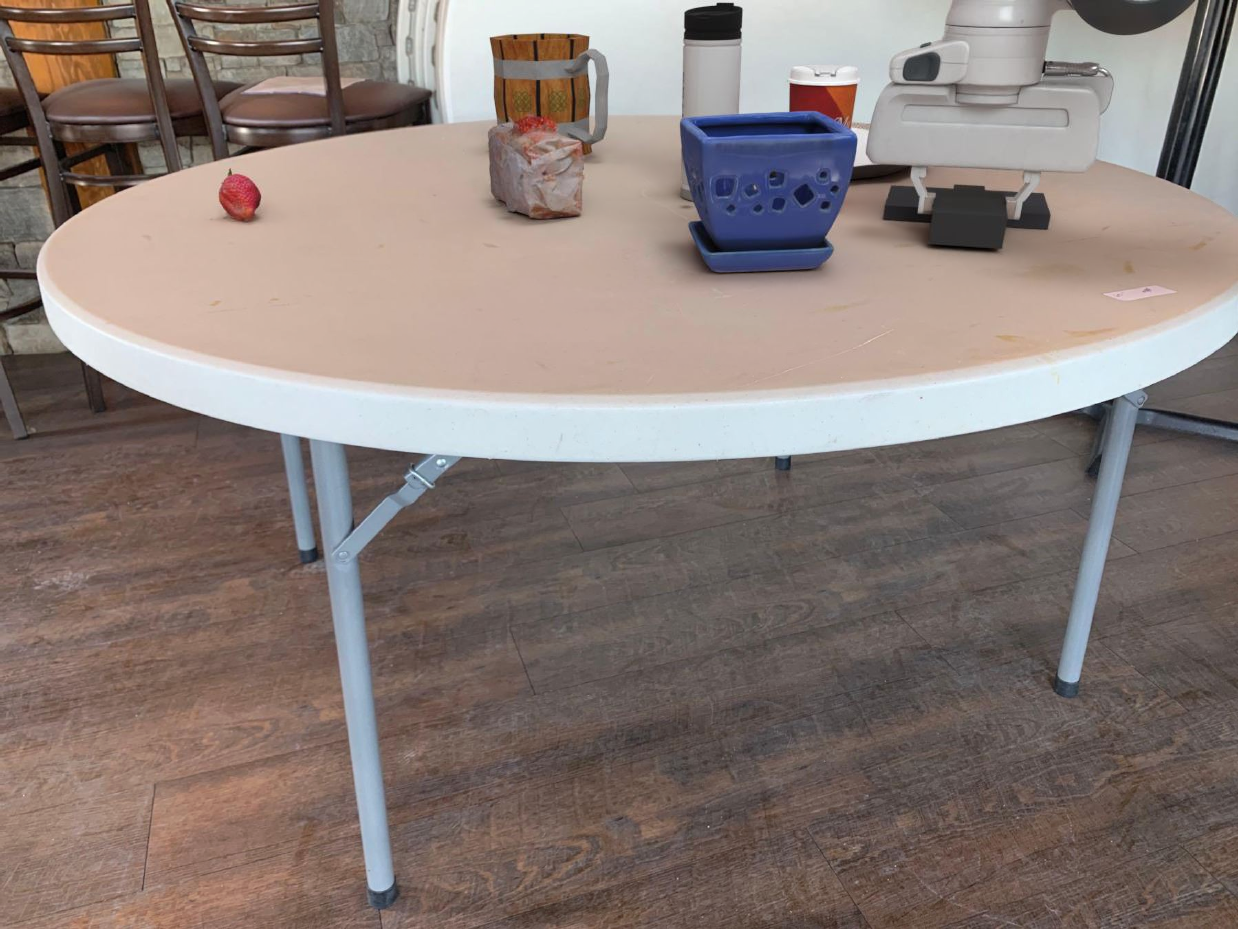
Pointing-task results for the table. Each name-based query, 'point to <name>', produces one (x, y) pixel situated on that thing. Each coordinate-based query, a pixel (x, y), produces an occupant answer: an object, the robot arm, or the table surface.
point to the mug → (550, 82)
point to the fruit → (239, 196)
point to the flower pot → (766, 187)
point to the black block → (968, 217)
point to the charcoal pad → (906, 198)
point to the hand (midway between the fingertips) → (967, 215)
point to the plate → (866, 160)
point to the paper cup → (824, 90)
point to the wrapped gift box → (536, 168)
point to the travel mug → (710, 65)
